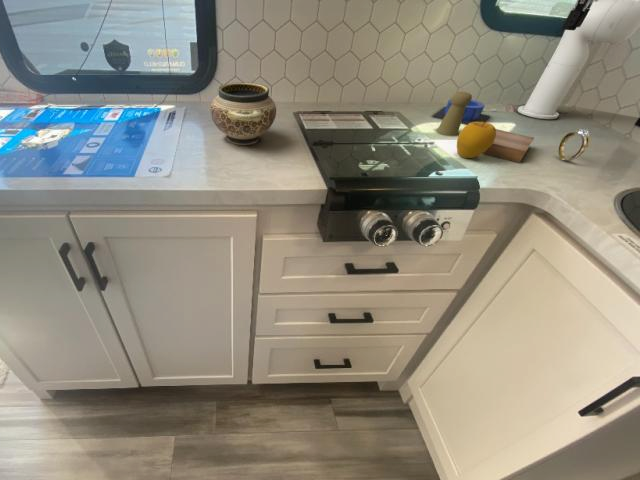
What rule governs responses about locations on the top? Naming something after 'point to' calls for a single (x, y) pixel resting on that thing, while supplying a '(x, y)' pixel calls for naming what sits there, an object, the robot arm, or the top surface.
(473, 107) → the ring
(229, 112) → the floral ceramic pot
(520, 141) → the platform
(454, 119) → the tan pawn figure
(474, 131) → the apple
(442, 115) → the mat
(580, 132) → the ring
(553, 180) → the top surface
